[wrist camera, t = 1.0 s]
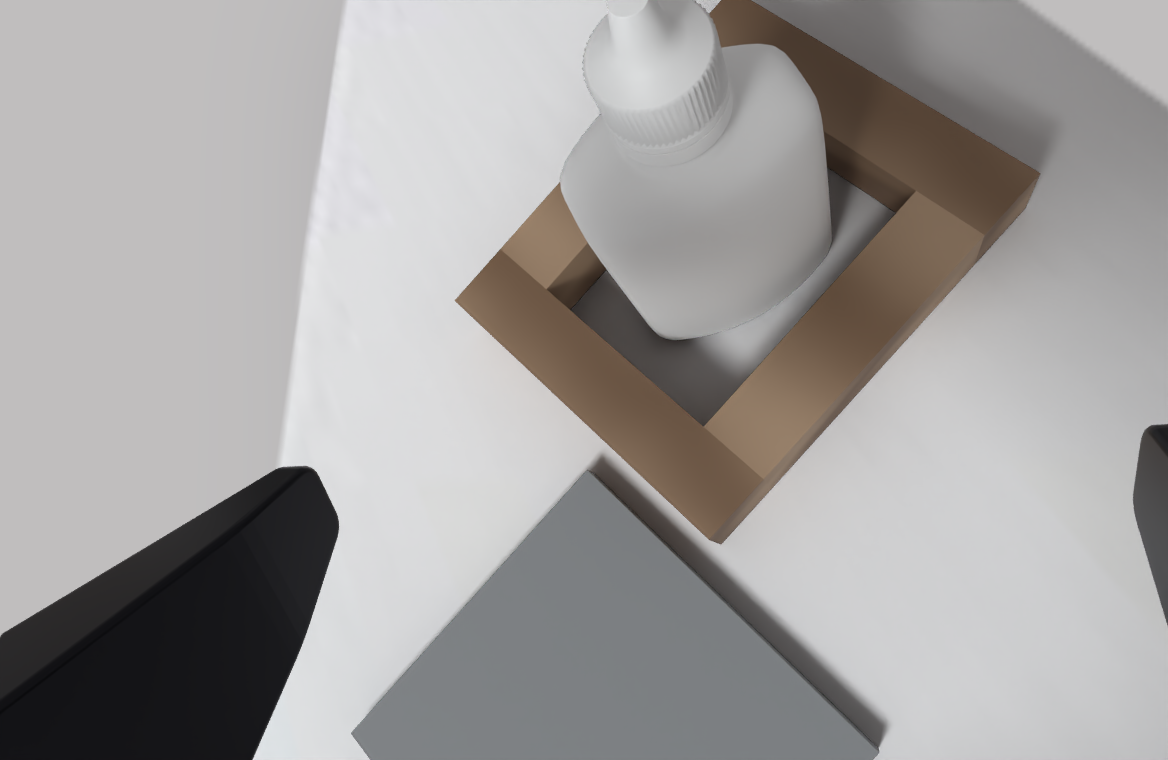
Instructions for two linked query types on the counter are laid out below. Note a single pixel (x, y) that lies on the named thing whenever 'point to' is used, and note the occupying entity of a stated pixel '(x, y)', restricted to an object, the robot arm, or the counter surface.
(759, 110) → the eye dropper bottle
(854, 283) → the wooden tray
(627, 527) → the mat
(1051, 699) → the counter surface
